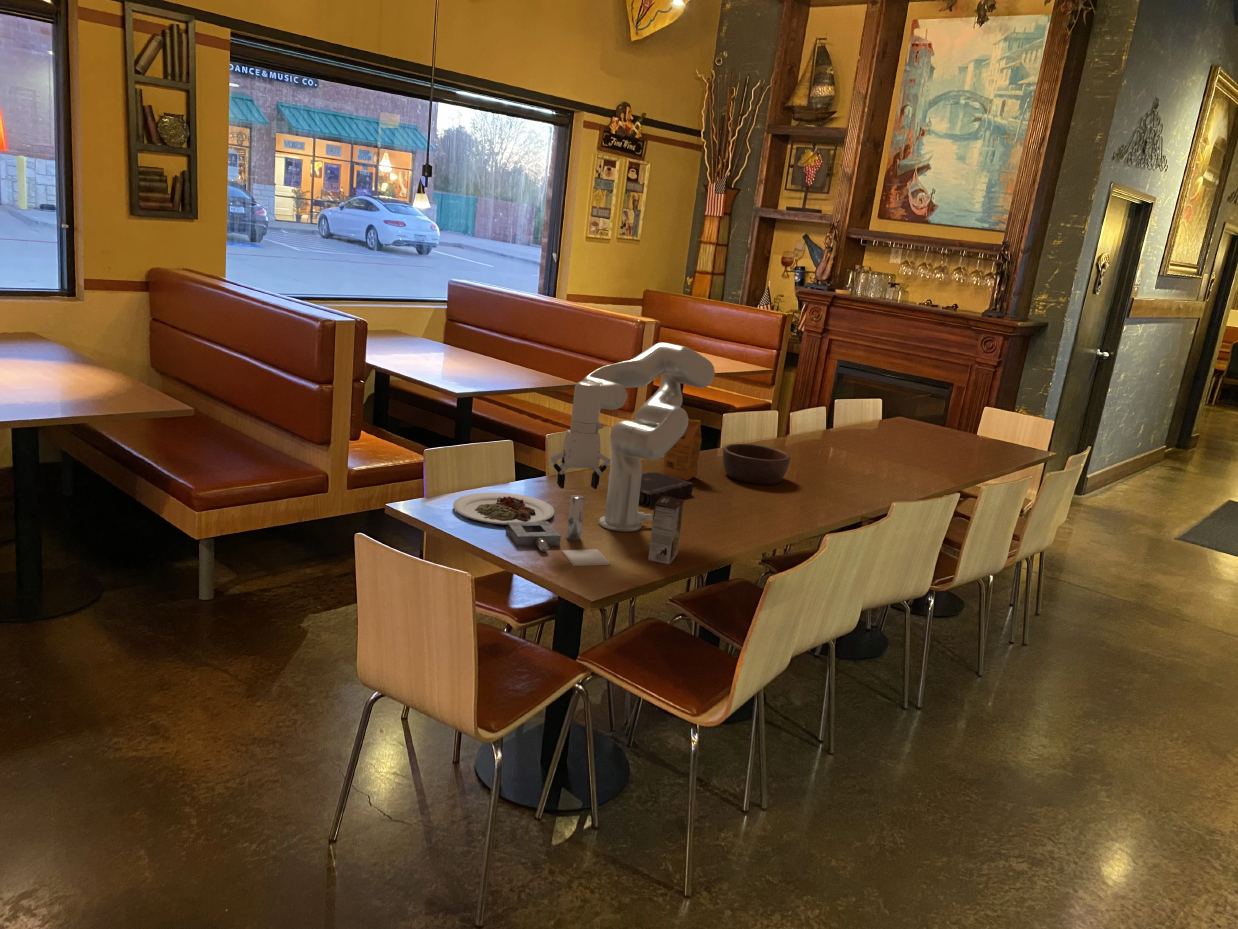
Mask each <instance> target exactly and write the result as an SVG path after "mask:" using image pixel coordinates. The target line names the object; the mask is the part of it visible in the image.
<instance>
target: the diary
mask: <svg viewBox="0 0 1238 929" xmlns="http://www.w3.org/2000/svg"><path fill="white" fill-rule="evenodd" d="M607 482H608V483H609V480H607ZM693 485H694V484H693V482H690V481H688V480H681V479H678V478H675V477H672V476H669V475H666V474H662V472H656V471H649V472H643V473H642V479H641V488H640V496H639V505H641V506H644V507H647V508H651V507H653V506H654V507H655V503H656V502H657V501H658V500H659V499H660V498H661V497H662V496H669V497H674V498H677V499H681V498H685V497H688V496H691V495H692V493H693V488H694V486H693Z"/></svg>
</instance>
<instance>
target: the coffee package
mask: <svg viewBox="0 0 1238 929" xmlns="http://www.w3.org/2000/svg"><path fill="white" fill-rule="evenodd" d="M701 425H702V420H700V419H699V420H698V419H690V418H688V426H687V429H686V431H685V433H684V434H683V436H682V437H681V438H680V439H679V440H678V441H677V442H676V443H675V445H674V446H673V447H672V448H671V449H670V450H669V451H668V452H667V453H666V454H665V455H664V456H663V464H662V472H661V473H662V474H666V475H669V476H672V477H675V478H678V479H681V480H684V481H690V480H691V479H693V478H696V476H697V474H698V462H699V458H700V452H701V446H702V431H701V429H702V428H701Z"/></svg>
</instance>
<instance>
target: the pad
mask: <svg viewBox="0 0 1238 929" xmlns="http://www.w3.org/2000/svg"><path fill="white" fill-rule="evenodd" d="M561 553H562V554H563V555H564V557H565V558H566V559H567V560H568V561H569V563H570V564H572V566H573V567H585V566H610V565H611V562H610V560H608V559H607V557H605V555H603V554H602V553H601V551H599V549H596V548H594V549H568V550H567V549H564V550H561Z"/></svg>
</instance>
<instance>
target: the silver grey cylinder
mask: <svg viewBox="0 0 1238 929" xmlns="http://www.w3.org/2000/svg"><path fill="white" fill-rule="evenodd" d="M585 500H586V497H585V496H583V495H580V494H578V495H577V494H573V495H570V500H569V507H568V508H569V509H568V519H567V520H568V521H567V530H566V539H567V540H569V541H581V539H582V531H583V530H582V529H583V520H584V510H585Z"/></svg>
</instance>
